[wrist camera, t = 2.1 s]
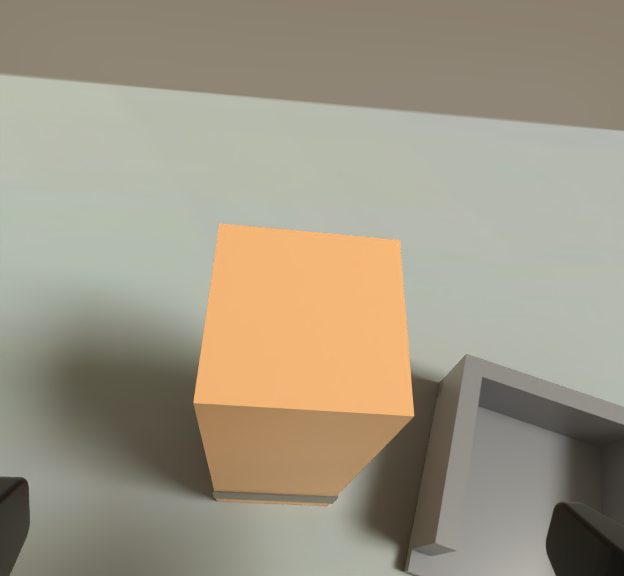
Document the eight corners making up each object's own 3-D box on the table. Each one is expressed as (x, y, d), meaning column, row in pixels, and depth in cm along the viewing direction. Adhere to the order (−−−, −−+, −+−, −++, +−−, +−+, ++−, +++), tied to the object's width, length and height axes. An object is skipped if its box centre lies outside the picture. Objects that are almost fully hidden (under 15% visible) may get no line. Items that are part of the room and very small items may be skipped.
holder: (611, 647, 18) (674, 656, 15) (404, 571, 18) (431, 567, 15) (610, 440, 21) (661, 419, 19) (439, 382, 22) (466, 353, 19)
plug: (328, 507, 19) (416, 419, 9) (215, 502, 18) (189, 405, 9) (329, 399, 21) (402, 238, 12) (227, 392, 21) (217, 221, 11)
